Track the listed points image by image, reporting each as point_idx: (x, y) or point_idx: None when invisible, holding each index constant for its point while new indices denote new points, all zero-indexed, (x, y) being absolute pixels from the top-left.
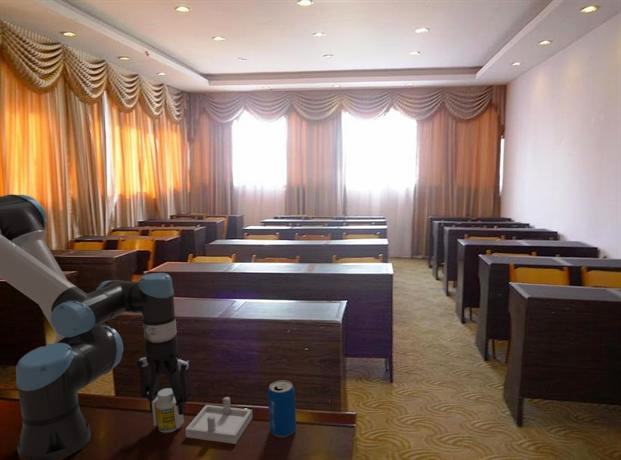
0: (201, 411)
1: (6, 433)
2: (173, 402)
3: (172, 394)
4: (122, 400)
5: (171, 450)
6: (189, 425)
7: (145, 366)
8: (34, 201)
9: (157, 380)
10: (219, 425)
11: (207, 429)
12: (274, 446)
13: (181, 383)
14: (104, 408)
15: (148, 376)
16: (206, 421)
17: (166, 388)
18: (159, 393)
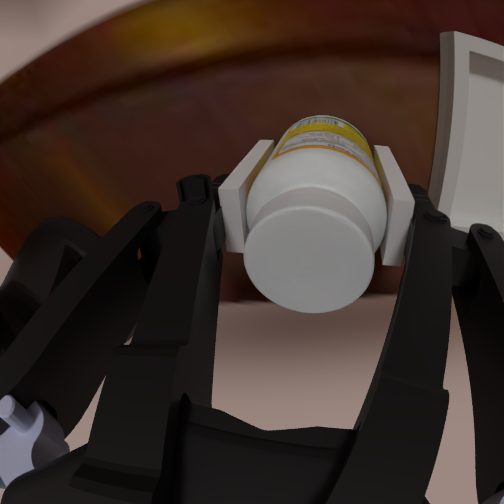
0: (459, 96)
1: (7, 253)
2: (374, 247)
3: (371, 275)
4: (41, 69)
5: (395, 280)
6: (441, 211)
7: (58, 428)
8: None
9: (205, 331)
10: None
11: (501, 201)
12: None
13: (478, 396)
14: (36, 126)
15: (95, 307)
16: (487, 145)
17: (277, 216)
18: (267, 284)
